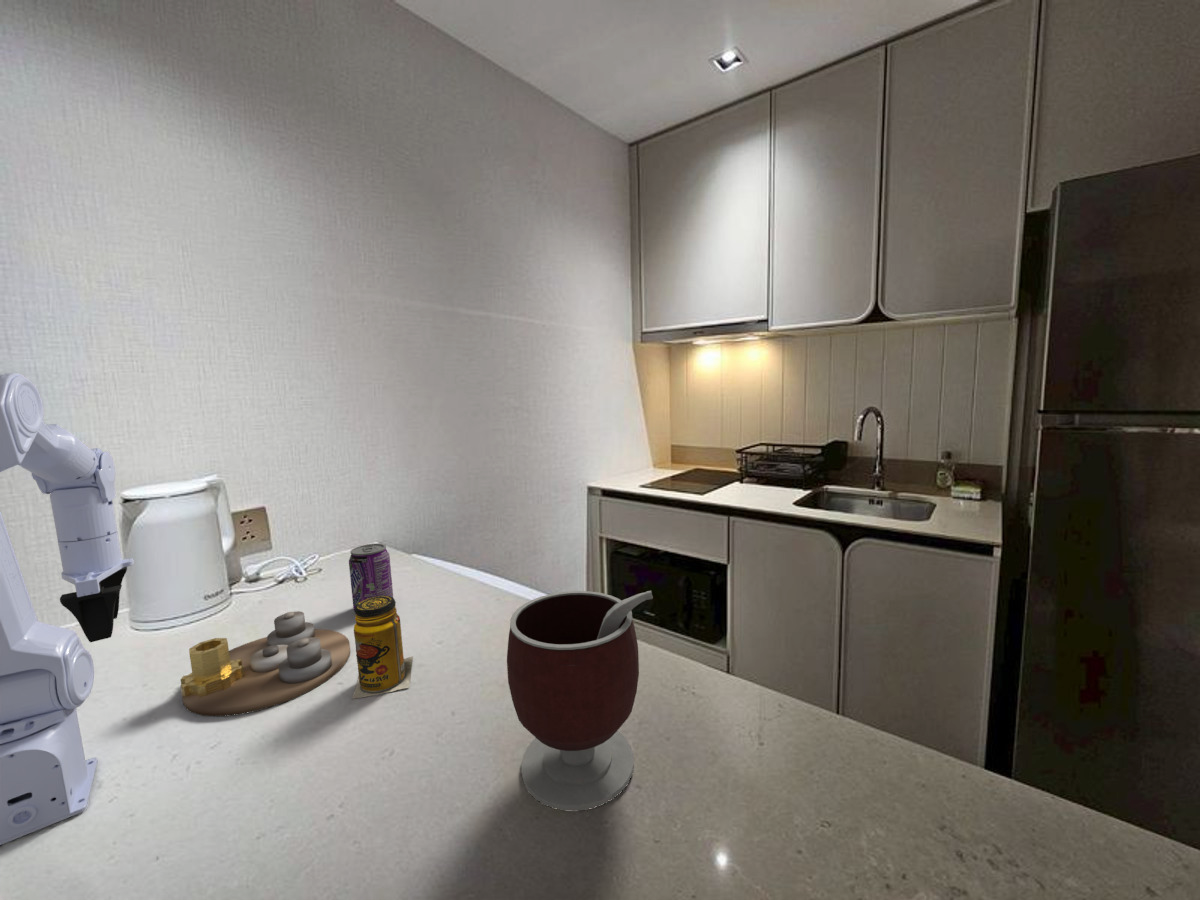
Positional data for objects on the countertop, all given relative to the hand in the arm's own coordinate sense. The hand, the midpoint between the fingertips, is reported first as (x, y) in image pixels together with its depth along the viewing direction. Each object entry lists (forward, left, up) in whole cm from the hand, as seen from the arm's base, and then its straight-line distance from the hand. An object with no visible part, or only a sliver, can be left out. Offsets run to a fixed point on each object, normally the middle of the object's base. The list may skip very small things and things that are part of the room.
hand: (104, 629), depth 69 cm
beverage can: (+2, -36, -10) cm, 37 cm away
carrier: (-10, -18, -9) cm, 23 cm away
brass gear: (-10, -11, -8) cm, 17 cm away
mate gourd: (-57, -41, -10) cm, 71 cm away
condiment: (-24, -30, -10) cm, 40 cm away
